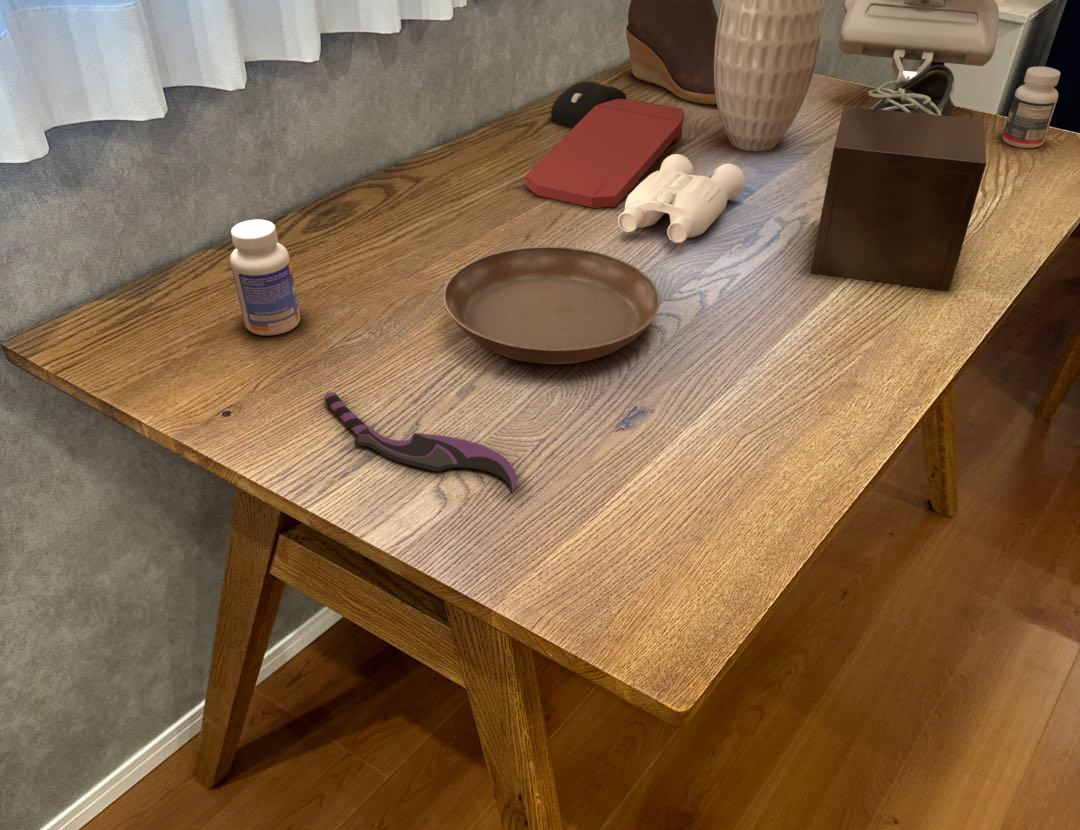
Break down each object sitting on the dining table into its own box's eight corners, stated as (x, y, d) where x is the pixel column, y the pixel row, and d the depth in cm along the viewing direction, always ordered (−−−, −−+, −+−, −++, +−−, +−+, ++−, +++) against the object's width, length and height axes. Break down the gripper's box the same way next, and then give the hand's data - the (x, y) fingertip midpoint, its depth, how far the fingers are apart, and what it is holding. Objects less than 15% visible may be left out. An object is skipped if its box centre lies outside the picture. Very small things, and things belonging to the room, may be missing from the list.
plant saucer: (624, 264, 108) (626, 235, 106) (686, 366, 93) (689, 334, 91) (432, 284, 105) (429, 254, 103) (463, 392, 90) (461, 360, 88)
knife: (331, 396, 89) (295, 427, 86) (329, 388, 89) (293, 420, 86) (537, 467, 82) (506, 504, 79) (537, 459, 81) (505, 496, 78)
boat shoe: (885, 189, 123) (900, 121, 118) (814, 168, 128) (826, 103, 123) (973, 130, 138) (991, 68, 132) (906, 114, 143) (921, 53, 137)
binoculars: (743, 201, 120) (748, 162, 117) (695, 256, 110) (699, 214, 107) (661, 185, 124) (664, 147, 121) (606, 236, 113) (608, 196, 110)
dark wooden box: (949, 241, 112) (984, 119, 104) (949, 291, 104) (986, 163, 95) (821, 225, 116) (843, 105, 107) (810, 272, 107) (834, 146, 98)
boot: (740, 118, 141) (761, -45, 128) (607, 79, 154) (613, -73, 140) (775, 102, 146) (798, -57, 133) (643, 66, 159) (652, -82, 145)
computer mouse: (639, 110, 144) (641, 80, 141) (586, 133, 137) (587, 102, 134) (598, 98, 148) (599, 69, 145) (544, 120, 141) (544, 90, 138)
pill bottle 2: (1008, 131, 138) (1029, 61, 132) (1048, 139, 135) (1071, 69, 129) (996, 143, 134) (1016, 72, 128) (1036, 152, 132) (1059, 80, 126)
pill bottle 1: (311, 323, 99) (296, 228, 93) (264, 343, 96) (244, 247, 90) (280, 303, 102) (263, 210, 96) (233, 322, 99) (212, 227, 93)
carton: (611, 238, 121) (695, 139, 135) (610, 201, 117) (697, 103, 131) (523, 217, 125) (613, 123, 139) (519, 181, 122) (612, 88, 135)
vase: (684, 142, 135) (707, -108, 116) (746, 119, 141) (777, -121, 123) (760, 169, 128) (798, -91, 109) (821, 144, 134) (867, -106, 115)
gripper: (850, -32, 137) (829, 67, 137) (1010, -20, 133) (989, 82, 132) (847, -4, 144) (826, 91, 143) (1000, 8, 139) (979, 106, 139)
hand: (906, 87), depth 138 cm, fingers closed
